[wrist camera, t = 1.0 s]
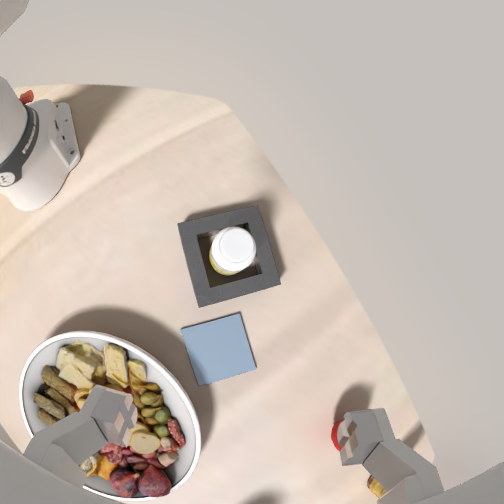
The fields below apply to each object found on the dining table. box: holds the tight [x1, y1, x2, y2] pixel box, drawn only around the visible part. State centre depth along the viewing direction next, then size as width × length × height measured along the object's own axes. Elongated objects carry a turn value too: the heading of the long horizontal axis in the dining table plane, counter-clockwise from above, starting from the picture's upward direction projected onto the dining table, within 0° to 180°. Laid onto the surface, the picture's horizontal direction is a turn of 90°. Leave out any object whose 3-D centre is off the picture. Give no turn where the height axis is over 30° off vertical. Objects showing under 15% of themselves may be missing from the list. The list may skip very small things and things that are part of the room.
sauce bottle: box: [367, 476, 387, 498], centre depth 31 cm, size 7×6×20 cm
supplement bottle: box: [209, 227, 256, 275], centre depth 37 cm, size 6×6×10 cm
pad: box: [181, 313, 256, 386], centre depth 40 cm, size 9×9×1 cm
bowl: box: [19, 331, 201, 501], centre depth 31 cm, size 30×30×8 cm
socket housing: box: [178, 205, 281, 308], centre depth 41 cm, size 12×12×3 cm
